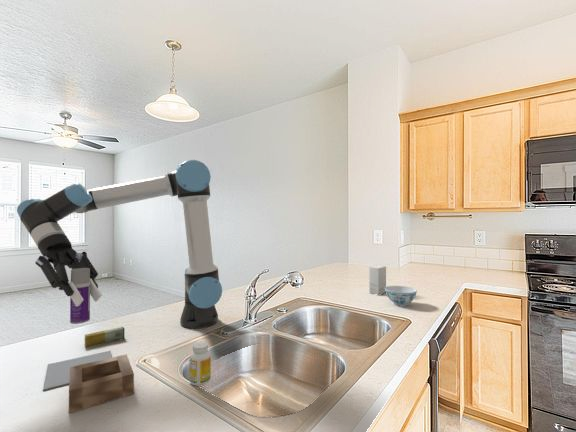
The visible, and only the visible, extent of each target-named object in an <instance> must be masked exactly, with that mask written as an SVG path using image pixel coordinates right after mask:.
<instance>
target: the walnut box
mask: <svg viewBox="0 0 576 432" xmlns="http://www.w3.org/2000/svg"><path fill="white" fill-rule="evenodd" d="M134 393H135V374H134V370H133V367H132V365H131V362H130V360H129V357H128V354H122V355H118V356H117V355H116V356H114V357H113V356H112V358H108V359H104V360H99V361H95V362H91V363H86V364H82V365H78V366H73V367H70V377H69V385H68V414H72V413H74V412H78V411H81V410H85V409H88V408H92V407H94V406H95V407H96V406H98V405H101V404H105V403H108V402H112V401H114V400H118V399H120V398H121V399H122V398H125V397H127V396H132V395H134Z"/></svg>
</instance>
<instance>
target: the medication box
mask: <svg viewBox="0 0 576 432" xmlns="http://www.w3.org/2000/svg"><path fill="white" fill-rule="evenodd" d="M125 331H126V330H125V327H124V326H121V327H115V328H110V329H106V330H101V331H96V332H91V333H86V334H84V348H89V347H90V348H91V347H95V346H99V345H104V344H108V343H113V342H114V343H115V342H118V341H123V340H125V335H126V334H125Z"/></svg>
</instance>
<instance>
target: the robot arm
mask: <svg viewBox="0 0 576 432" xmlns="http://www.w3.org/2000/svg"><path fill="white" fill-rule="evenodd" d="M211 176H212V175H211V171H210V169H209V167H208V166H207V165H206V164H205V163H204V162H202V161H200V160H197V159H187V160H185V161H183V162H182V163H180V164H179V165H178V166H177V168H176V170H173V171H170V172H165V173H164V175H163V176H158V177H157V176H156V177H152V178H147V179H141V180H136V181H130V182H125V183H119V184H113V185H112V184H111V185H108V186H103V187H102V186H101V187H96V188H91V189H87V188H86V187H85V186H84V185H82V184H81V183H80V182H75V183H72V184H71V185H68V186H66V187H65V188H63V189H61V190H60V191H58V192H56V193H54V194H53V195H51V196H49V197H47V198H46V199H40V198H37V197H36V198H35V197H34V198H31V199H26V200H23V201H22V202H20V203H19V204H18V206H17V208H16V212H17V214H18V216H19V219H20V220H19V221H20V222H21V223H22V224H23V226H24V227H25V229H26V230H27V232H28V233H29V235H30V237H31V238H32V241H34V243H35V245H36V246H37V249H38V250H39V253H41V255H40V256H38V257H37V259H36V260H35V262H34V263H35V265H37V267H39V268H40V270H41V271H42V273H43V274H44V276H45V278H46V279H47V281H48V283H49V285H50V286H51V288H53V289H56V288H58V290H59V291H64V294H65V295H66V296H67V297H71V299H72V300H73V302H74V304H75V305H76V307H77V306H79V305H80V304H81V303H82V301H83V300H84V299H83V298H82V296H81V294H80V293H79V291H78V290H77V288H76V286H75V285H74V283H73V282H71V281H70V280H69V276H68V273H67V269H66V267H68V269H71V270H72V269H76V268H90V297H91V298H92V299H93V302H98V301H99V299H101V298H102V296H103V294H102V293H101V291H100V289H98V288H99V285H98V283H97V282H96V278H97V277H98V275H99V273H98V271H97V270H96V268H95V266H94V265H93V263H91V261H90V259H89V257H88V254H87V252H86V251H82V252H77V251H76V250H75V249H73V245H72V242H71V241H70V240H69V238H68V236H67V234H66V233H65V231H64V229H63V228H62V227H61V226H60V224H59V221H61V220H63V219H64V218H66V217H68V216H70V215H71V214H74V213H75V214H84V213H88V212H90V211H96V210H99V209H103V208H109V207H114V206H120V205H124V204H128V203H133V202H135V203H136V202H138V201H143V200H144V201H145V200H148V199H153V198H158V197H164V196H170V197H175V196H176V197H177V199H178V201H180V202H182V206H183V207H182V209H183V215H184V225H185V227H184V228H185V234H186V245H187V256H188V263H189V264H188V265H189V267H187V268H186V269H184V306H183V309H182V312H181V315H180V319H179V320H180V322H179V323H180V326H182V327H183V328H187V329H200V328H206V327H210V326H214V325H215V324H217V323H218V322H219V314H218V311H217V309H216V304H218V303H219V301H220V300H221V298H222V294H223V285H222V284H221V282H220V277H219V268H218V266H217V265H215V264H214V258H213V249H212V240H211V239H212V238H211V231H210V230H211V228H210V220H209V210H208V200H209V199H210V197H211V189H210V187H211V186H210V183H211V179H212V178H211Z"/></svg>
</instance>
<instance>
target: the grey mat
mask: <svg viewBox="0 0 576 432" xmlns="http://www.w3.org/2000/svg"><path fill="white" fill-rule="evenodd" d="M112 357H113V354H112V350H107V351H103V352H98V353H97V352H96V353H94V354H93V353H92V354H88V355H85V356H80V357H75V358H71V359H66V360H61V361H57V362H52V363H48V364H47V365H46V366H47V367H46V372H45V376H44V377H45V378H44V382H43V388H42V391H43V392H44V391H48V390H51V389H56V388H60V387H64V386H69V377H70V367H73V366H78V365H82V364H86V363H91V362H95V361H99V360H104V359H108V358H112Z"/></svg>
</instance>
